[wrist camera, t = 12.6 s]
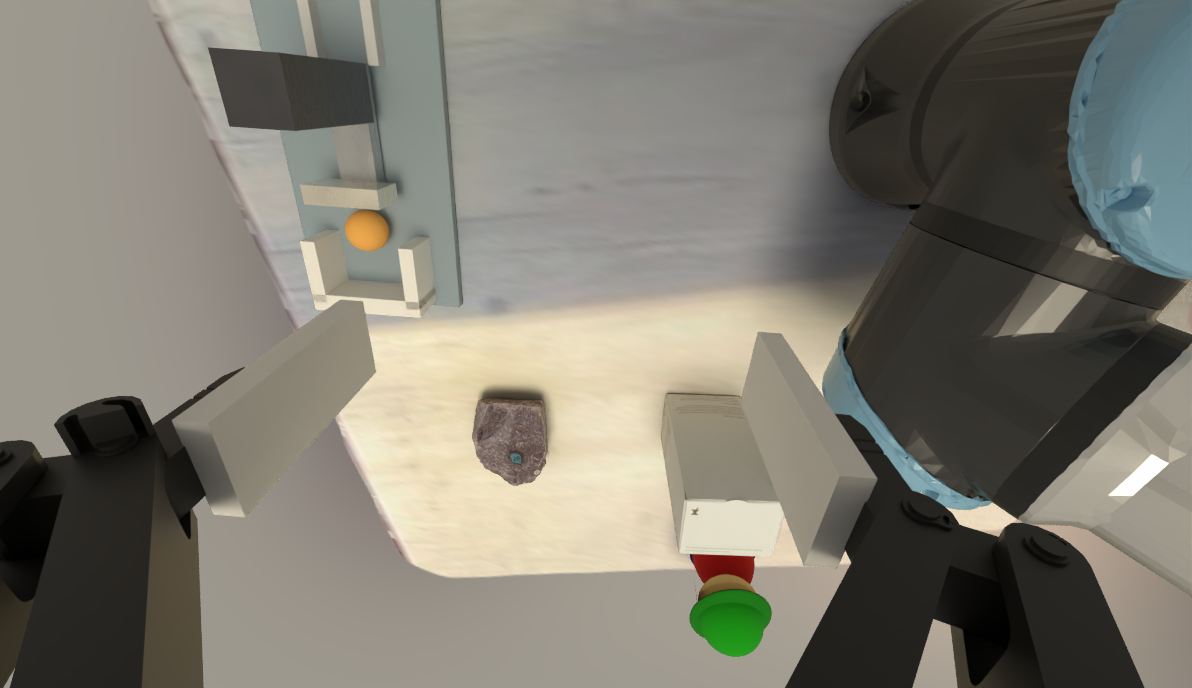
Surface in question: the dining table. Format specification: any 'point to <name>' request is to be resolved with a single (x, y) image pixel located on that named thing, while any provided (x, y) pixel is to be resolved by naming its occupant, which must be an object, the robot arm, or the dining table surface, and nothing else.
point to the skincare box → (717, 478)
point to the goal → (377, 297)
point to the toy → (729, 604)
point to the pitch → (379, 125)
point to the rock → (511, 438)
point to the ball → (367, 230)
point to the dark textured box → (311, 116)
